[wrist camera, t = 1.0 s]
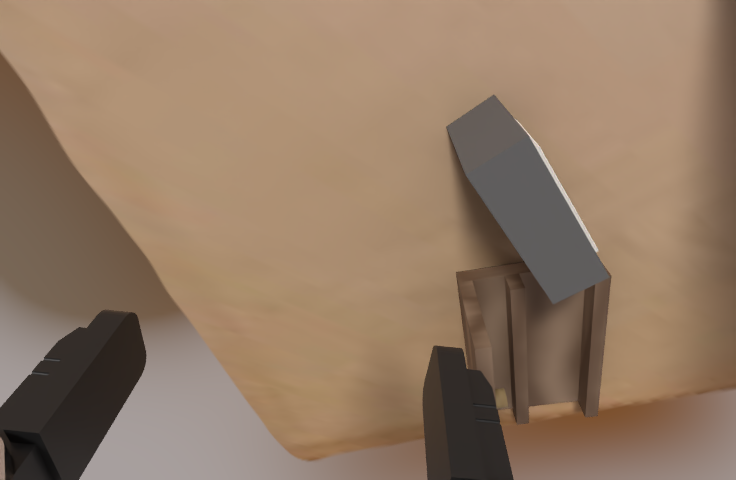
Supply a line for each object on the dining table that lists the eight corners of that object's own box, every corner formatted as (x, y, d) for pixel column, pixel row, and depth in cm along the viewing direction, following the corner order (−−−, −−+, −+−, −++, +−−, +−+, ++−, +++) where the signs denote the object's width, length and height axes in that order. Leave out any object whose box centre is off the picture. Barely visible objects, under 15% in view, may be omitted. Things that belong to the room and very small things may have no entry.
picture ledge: (593, 251, 39) (649, 327, 31) (584, 388, 48) (624, 473, 40) (456, 272, 41) (474, 349, 33) (472, 400, 50) (490, 485, 42)
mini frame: (497, 91, 32) (533, 132, 25) (566, 210, 37) (614, 275, 30) (446, 126, 34) (465, 174, 26) (519, 236, 39) (553, 304, 31)
